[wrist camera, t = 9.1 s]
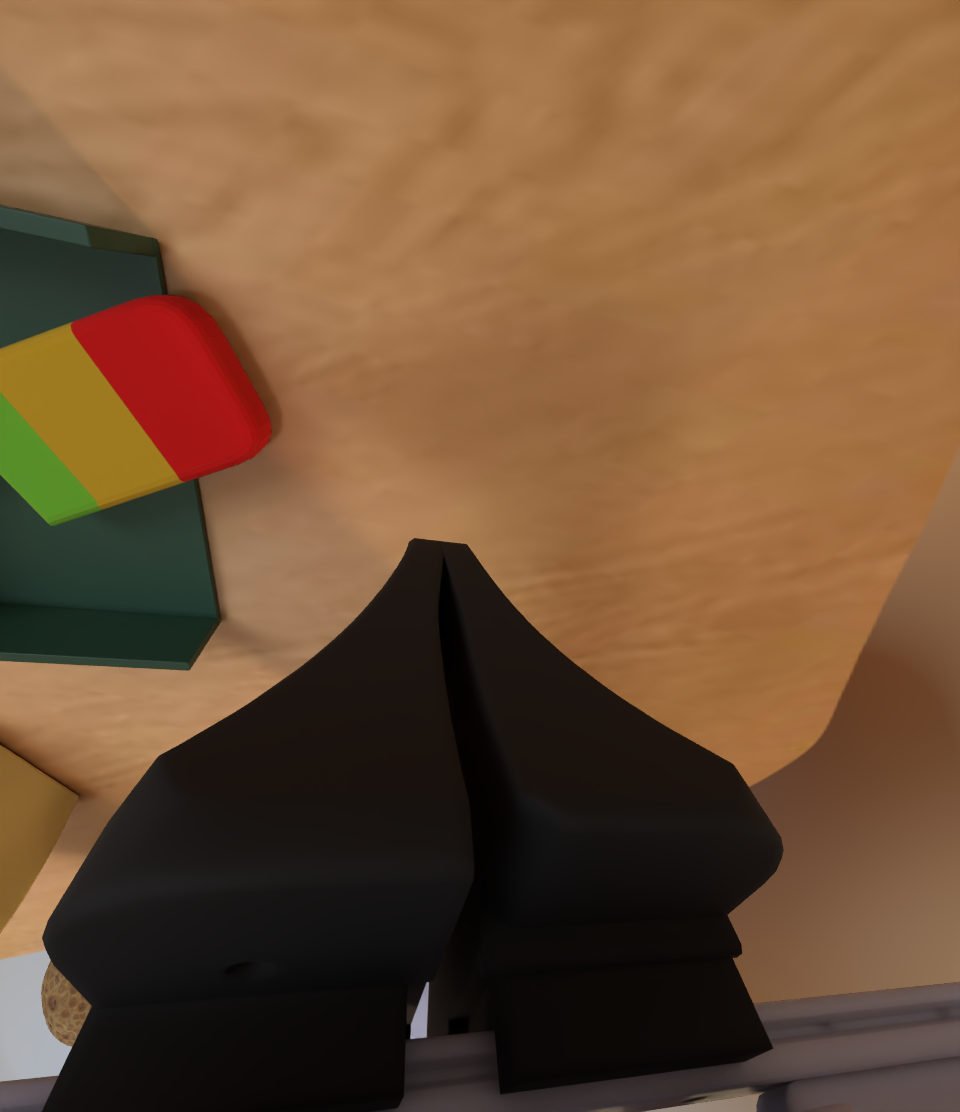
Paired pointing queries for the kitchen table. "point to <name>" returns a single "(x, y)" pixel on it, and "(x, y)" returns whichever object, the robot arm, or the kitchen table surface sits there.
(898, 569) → the kitchen table surface
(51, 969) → the natural sponge
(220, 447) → the popsicle
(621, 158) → the kitchen table surface
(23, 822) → the cheese
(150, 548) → the dustpan
